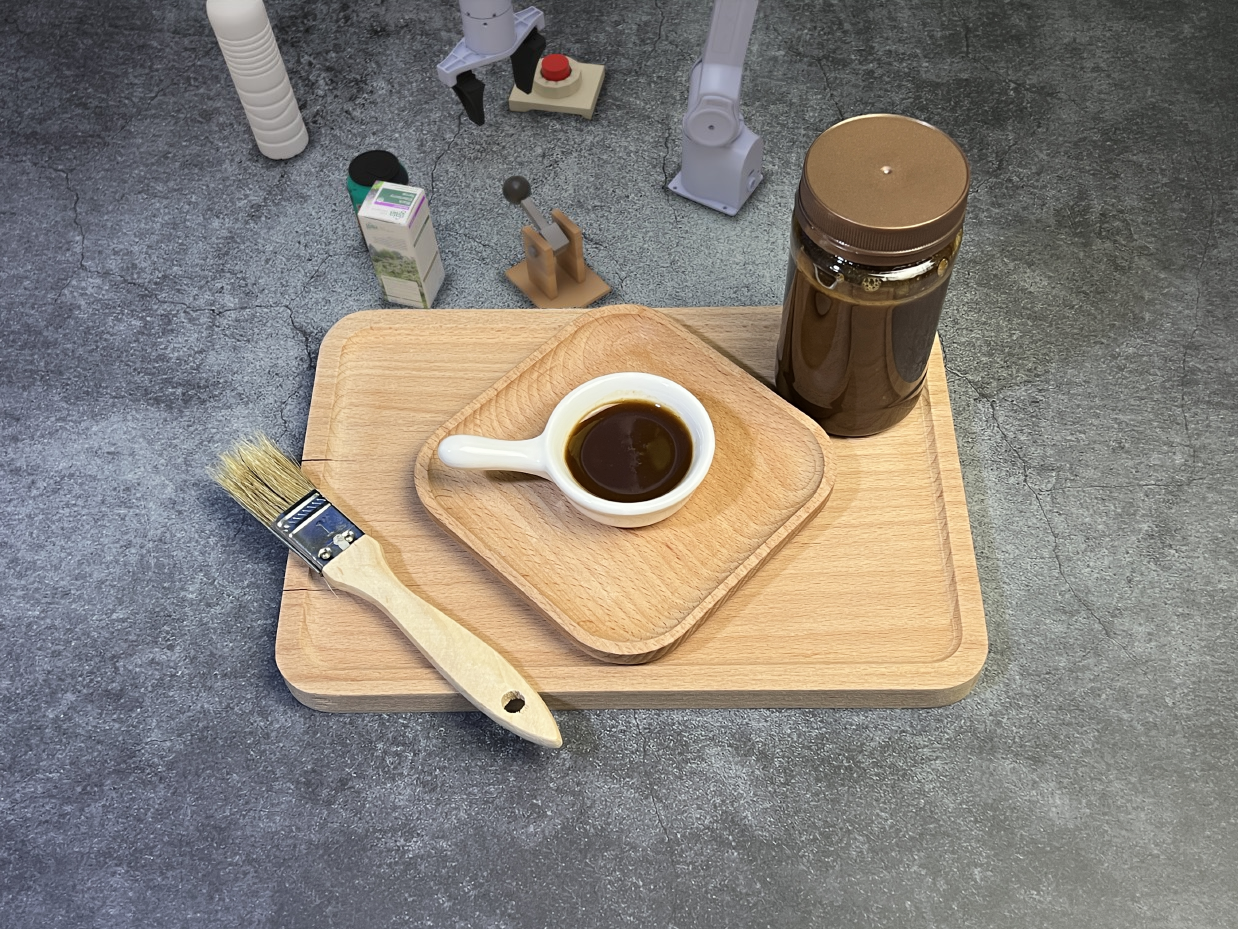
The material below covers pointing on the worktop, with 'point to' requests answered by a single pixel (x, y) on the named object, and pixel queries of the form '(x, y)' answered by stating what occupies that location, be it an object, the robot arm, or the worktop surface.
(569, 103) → the button box
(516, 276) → the bracket
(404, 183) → the teal lidded canister
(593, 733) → the worktop surface
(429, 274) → the syrup box
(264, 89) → the water bottle
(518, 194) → the lever
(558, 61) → the button
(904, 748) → the worktop surface
